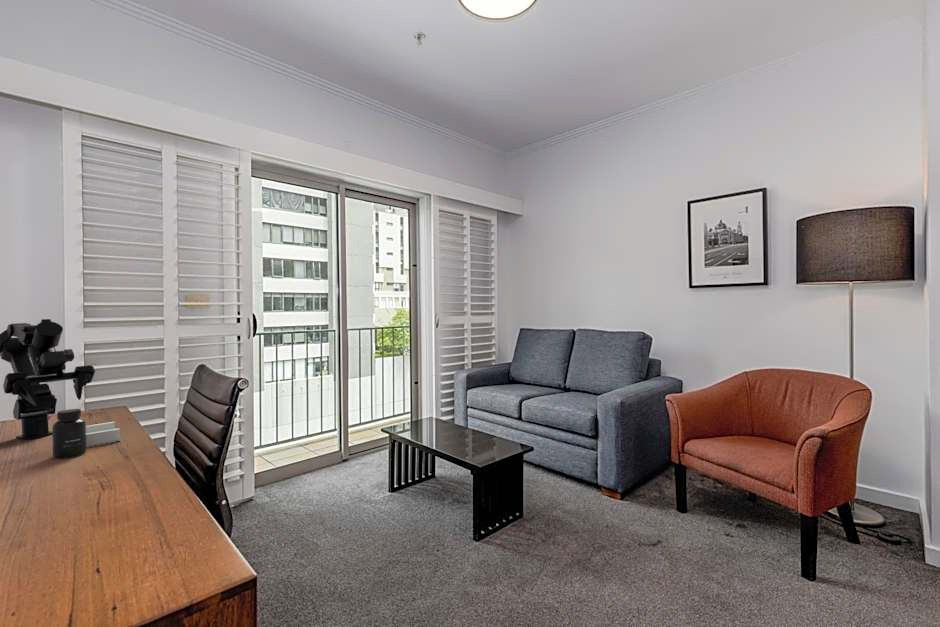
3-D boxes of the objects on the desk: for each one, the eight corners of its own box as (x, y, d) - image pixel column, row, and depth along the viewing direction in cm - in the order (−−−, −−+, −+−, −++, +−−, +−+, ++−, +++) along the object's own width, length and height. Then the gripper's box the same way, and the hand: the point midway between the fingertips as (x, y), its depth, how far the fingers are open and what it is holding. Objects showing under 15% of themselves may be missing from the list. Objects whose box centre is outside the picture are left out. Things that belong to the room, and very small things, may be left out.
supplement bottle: (71, 459, 119) (69, 413, 119) (45, 459, 119) (43, 414, 119) (93, 450, 126) (92, 407, 126) (69, 450, 126) (67, 407, 126)
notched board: (75, 449, 127) (75, 436, 127) (72, 440, 136) (71, 428, 136) (120, 441, 134) (119, 429, 134) (114, 432, 143) (114, 421, 143)
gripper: (4, 343, 121) (17, 389, 116) (91, 338, 137) (107, 378, 131) (-3, 370, 126) (10, 415, 120) (83, 362, 142) (97, 402, 136)
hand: (58, 401), depth 127 cm, fingers open, 9 cm apart
